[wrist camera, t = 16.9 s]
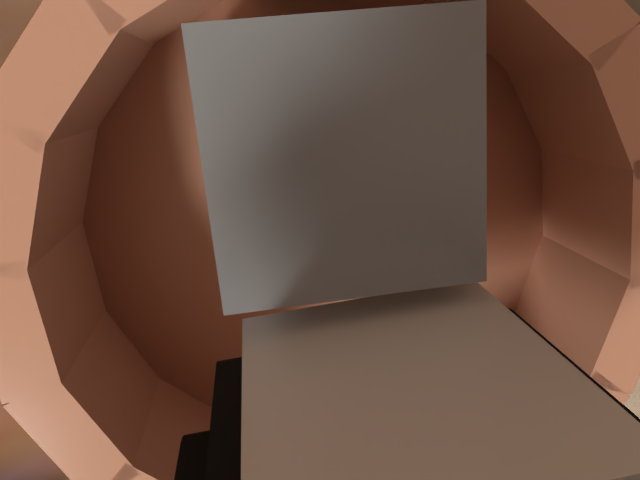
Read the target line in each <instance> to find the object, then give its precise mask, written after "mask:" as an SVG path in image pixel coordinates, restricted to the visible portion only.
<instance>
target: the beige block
mask: <svg viewBox="0 0 640 480" xmlns="http://www.w3.org/2000/svg"><path fill="white" fill-rule="evenodd" d="M241 480H640V423H639V422H638V421H637V420H636V419H635V418H634V417H632V416H631V415H630V414H629V413H628V412H627V411H626V410H624V409H623V408H622V407H621V406H620V405H619V404H617V403H616V402H615V401H614V400H613V399H612V398H611V397H609V396H608V395H607V394H606V393H605V392H604V391H602V390H601V389H600V388H599V387H598V386H597V385H596V384H594V383H593V382H592V381H591V380H590V379H589V378H587V377H586V376H585V375H584V374H583V373H582V372H581V371H579V370H578V369H577V368H576V367H575V366H574V365H572V364H571V363H570V362H569V361H568V360H567V359H565V358H564V357H563V356H562V355H561V354H560V353H559V352H557V351H556V350H555V349H554V348H553V347H552V346H550V345H549V344H548V343H547V342H546V341H545V340H544V339H542V338H541V337H540V336H539V335H538V334H537V333H535V332H534V331H533V330H532V329H531V328H530V327H529V326H527V325H526V324H525V323H524V322H523V321H522V320H520V319H519V318H518V317H517V316H516V315H515V314H514V313H512V312H511V311H510V310H509V309H508V308H507V307H505V306H504V305H503V304H502V303H501V302H500V301H499V300H497V299H496V298H495V297H494V296H493V295H492V294H490V293H489V292H488V291H487V290H486V289H485V288H484V287H482V286H481V285H480V284H479V283H478V282H477V283H469V284H462V285H454V286H447V287H439V288H431V289H424V290H416V291H408V292H401V293H393V294H385V295H378V296H370V297H364V298H358V299H353V300H347V301H341V302H336V303H330V304H324V305H319V306H313V307H307V308H302V309H296V310H290V311H285V312H279V313H273V314H268V315H262V316H256V317H251V318H245V319H242V411H241Z"/></svg>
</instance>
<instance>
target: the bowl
mask: <svg viewBox="0 0 640 480" xmlns="http://www.w3.org/2000/svg"><path fill="white" fill-rule="evenodd" d="M458 1H471V0H43V1H42V3H41V5H40V6H39V8H38V9H37V11H36V13H35V14H34V16H33V17H32V19H31V21H30V22H29V24H28V25H27V27H26V29H25V30H24V32H23V33H22V35H21V37H20V38H19V40H18V41H17V43H16V45H15V46H14V48H13V49H12V51H11V53H10V54H9V56H8V57H7V59H6V61H5V62H4V64H3V65H2V67H1V69H0V401H1V404H5V403H6V404H5V405H4V406H3V407H4V408H5V409H6V410H7V411H8V412H9V414H10V415H11V416H12V417H13V418H14V419H15V420H16V421H17V422H18V423H19V424H20V425H21V427H22V428H23V429H24V430H25V431H26V432H27V433H28V434H29V435H30V436H31V437H32V438H33V440H34V441H35V442H36V443H37V444H38V445H39V446H40V447H41V448H42V449H43V450H44V452H45V453H46V454H47V455H48V456H49V457H50V458H51V459H52V460H53V461H54V462H55V463H56V465H57V466H58V467H59V468H60V469H61V470H62V471H63V472H64V473H65V474H66V475H67V476H68V478H69V479H70V480H174V477H175V471H176V466H177V460H178V455H179V449H180V443H181V439H182V437H183V436H184V435H187V434H192V433H197V432H203V431H208V430H210V421H211V411H212V401H213V391H214V381H215V371H216V363H217V361H222V360H227V359H233V358H238V357H242V319H245V318H251V317H256V316H262V315H268V314H273V313H279V312H285V311H290V310H296V309H302V308H307V307H313V306H319V305H324V304H330V303H336V302H341V301H347V300H353V299H347V300H339V301H332V302H324V303H317V304H309V305H301V306H294V307H286V308H278V309H271V310H263V311H255V312H248V313H240V314H232V315H225V316H224V315H223V308H222V301H221V294H220V287H219V280H218V274H217V267H216V260H215V253H214V246H213V240H212V233H211V226H210V219H209V212H208V206H207V199H206V192H205V185H204V178H203V171H202V165H201V158H200V151H199V144H198V137H197V131H196V124H195V117H194V110H193V103H192V97H191V90H190V83H189V76H188V69H187V63H186V56H185V49H184V42H183V35H182V28H181V23H191V22H204V21H217V20H229V19H242V18H255V17H267V16H280V15H293V14H306V13H318V12H331V11H344V10H356V9H369V8H382V7H395V6H407V5H420V4H433V3H445V2H458ZM486 121H487V281H485V282H478V283H479V284H480V285H481V286H482V287H484V288H485V289H486V290H487V291H488V292H489V293H490V294H492V295H493V296H494V297H495V298H496V299H497V300H499V301H500V302H501V303H502V304H503V305H504V306H505V307H507V308H510V309H512V310H513V311H515V312H516V313H517V314H518V315H519V316H520V317H522V318H523V319H524V320H525V321H526V322H527V323H529V324H530V325H531V326H532V327H533V328H534V329H536V330H537V331H538V332H539V333H540V334H541V335H543V336H544V337H545V338H546V339H547V340H548V341H550V342H551V343H552V344H553V345H554V346H555V347H557V348H558V349H559V350H560V351H561V352H562V353H564V354H565V355H566V356H567V357H568V358H569V359H571V360H572V361H573V362H574V363H575V364H576V365H578V366H579V367H580V368H581V369H582V370H583V371H585V372H586V373H587V374H588V375H589V376H590V377H592V378H593V379H594V380H595V381H596V382H597V383H599V384H600V385H601V386H602V387H603V388H604V389H606V390H607V391H608V392H609V393H610V394H611V395H613V396H614V397H615V398H616V399H617V400H618V401H620V402H621V403H622V404H624V403H625V402H626V401H627V400H628V399H629V397H630V396H629V395H628V394H632V393H633V390H634V388H635V386H636V384H637V381H638V379H639V377H640V16H639V15H638V14H637V13H636V12H635V11H634V10H633V9H632V8H631V7H630V6H629V5H628V4H627V3H626V2H625V1H624V0H486ZM362 298H364V297H362ZM355 299H358V298H355ZM627 393H628V394H627Z"/></svg>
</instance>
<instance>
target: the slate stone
mask: <svg viewBox="0 0 640 480" xmlns="http://www.w3.org/2000/svg"><path fill="white" fill-rule="evenodd" d="M181 28H182V35H183V42H184V49H185V56H186V63H187V69H188V76H189V83H190V90H191V97H192V103H193V110H194V117H195V124H196V131H197V137H198V144H199V151H200V158H201V165H202V171H203V178H204V185H205V192H206V199H207V206H208V212H209V219H210V226H211V233H212V240H213V246H214V253H215V260H216V267H217V274H218V280H219V287H220V294H221V301H222V308H223V315H224V316H225V315H232V314H240V313H248V312H255V311H263V310H271V309H278V308H286V307H294V306H301V305H309V304H317V303H324V302H332V301H339V300H347V299H355V298H362V297H370V296H378V295H385V294H393V293H401V292H408V291H416V290H424V289H431V288H439V287H447V286H454V285H462V284H469V283H477V282H485V281H487V121H486V0H471V1H458V2H445V3H433V4H420V5H407V6H395V7H382V8H369V9H356V10H344V11H331V12H318V13H306V14H293V15H280V16H267V17H255V18H242V19H229V20H217V21H204V22H191V23H181Z"/></svg>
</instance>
